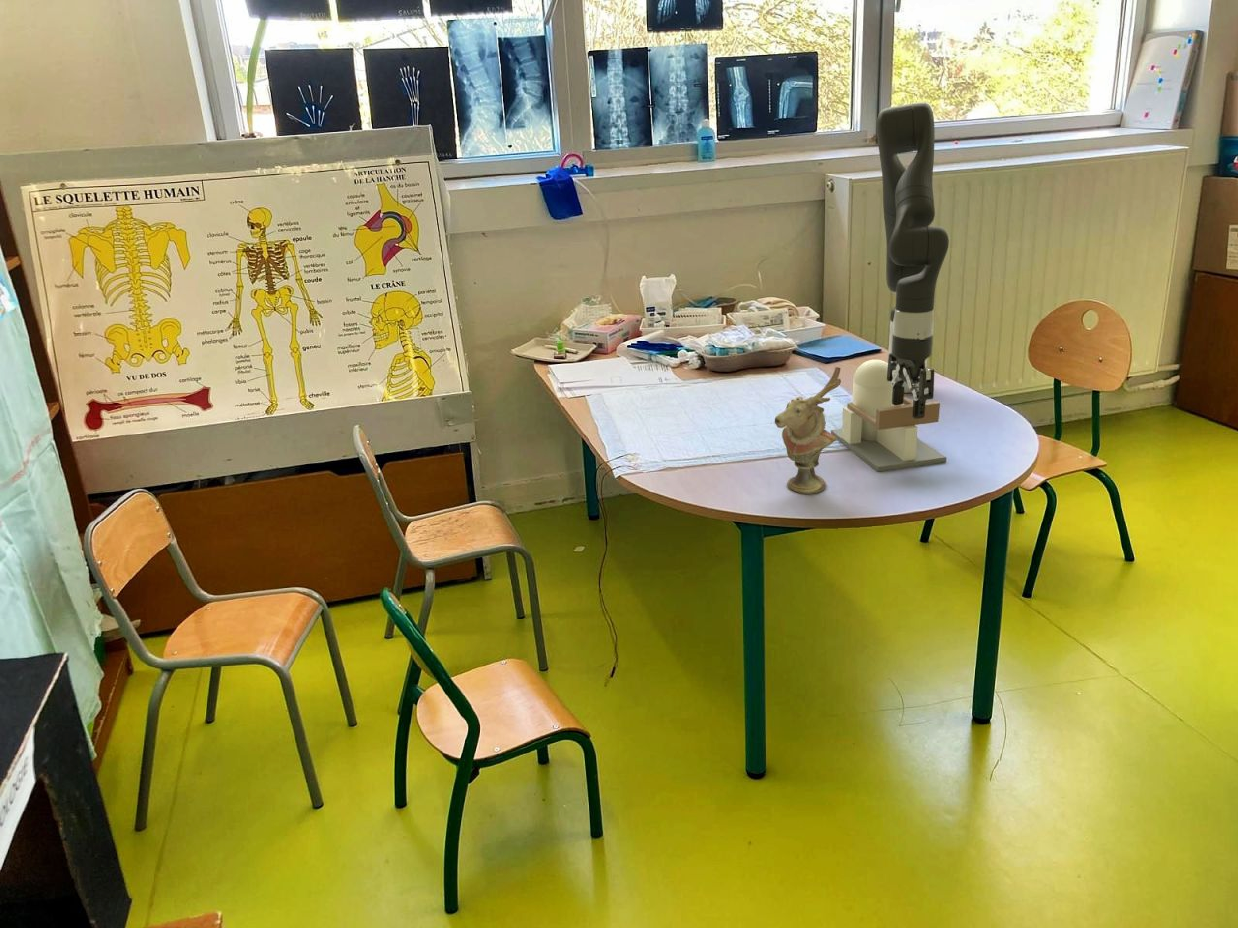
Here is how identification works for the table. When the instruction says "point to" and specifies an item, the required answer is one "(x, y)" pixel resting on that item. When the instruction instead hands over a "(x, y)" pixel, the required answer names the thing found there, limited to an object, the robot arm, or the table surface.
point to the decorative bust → (807, 437)
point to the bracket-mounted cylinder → (886, 444)
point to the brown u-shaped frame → (898, 415)
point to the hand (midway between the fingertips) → (907, 411)
